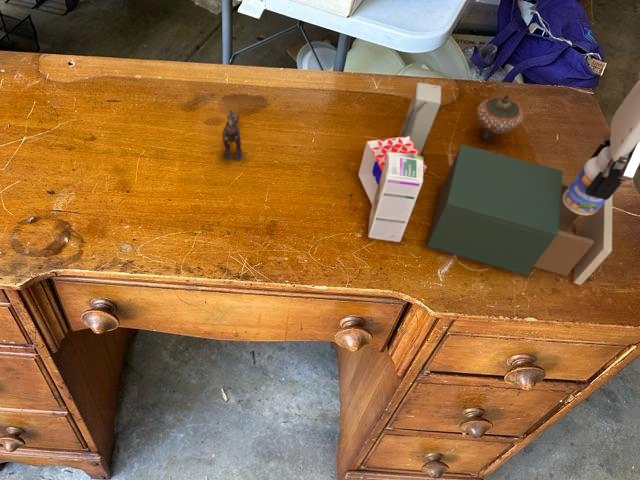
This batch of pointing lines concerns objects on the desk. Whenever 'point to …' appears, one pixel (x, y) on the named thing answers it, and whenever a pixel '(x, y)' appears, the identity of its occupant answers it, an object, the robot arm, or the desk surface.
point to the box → (421, 114)
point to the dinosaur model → (232, 136)
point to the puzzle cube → (381, 160)
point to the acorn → (499, 115)
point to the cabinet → (497, 210)
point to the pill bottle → (576, 191)
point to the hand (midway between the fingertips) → (597, 180)
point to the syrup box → (395, 196)
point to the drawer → (579, 242)
